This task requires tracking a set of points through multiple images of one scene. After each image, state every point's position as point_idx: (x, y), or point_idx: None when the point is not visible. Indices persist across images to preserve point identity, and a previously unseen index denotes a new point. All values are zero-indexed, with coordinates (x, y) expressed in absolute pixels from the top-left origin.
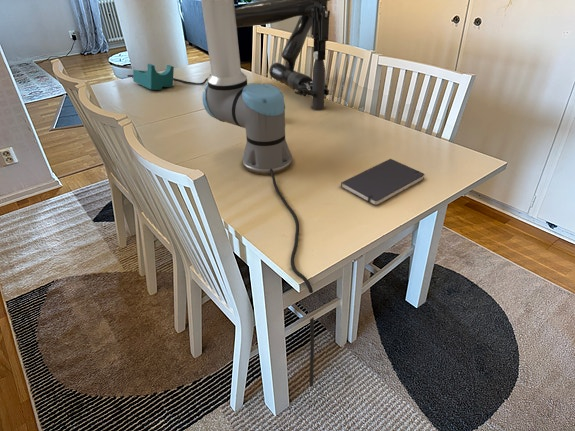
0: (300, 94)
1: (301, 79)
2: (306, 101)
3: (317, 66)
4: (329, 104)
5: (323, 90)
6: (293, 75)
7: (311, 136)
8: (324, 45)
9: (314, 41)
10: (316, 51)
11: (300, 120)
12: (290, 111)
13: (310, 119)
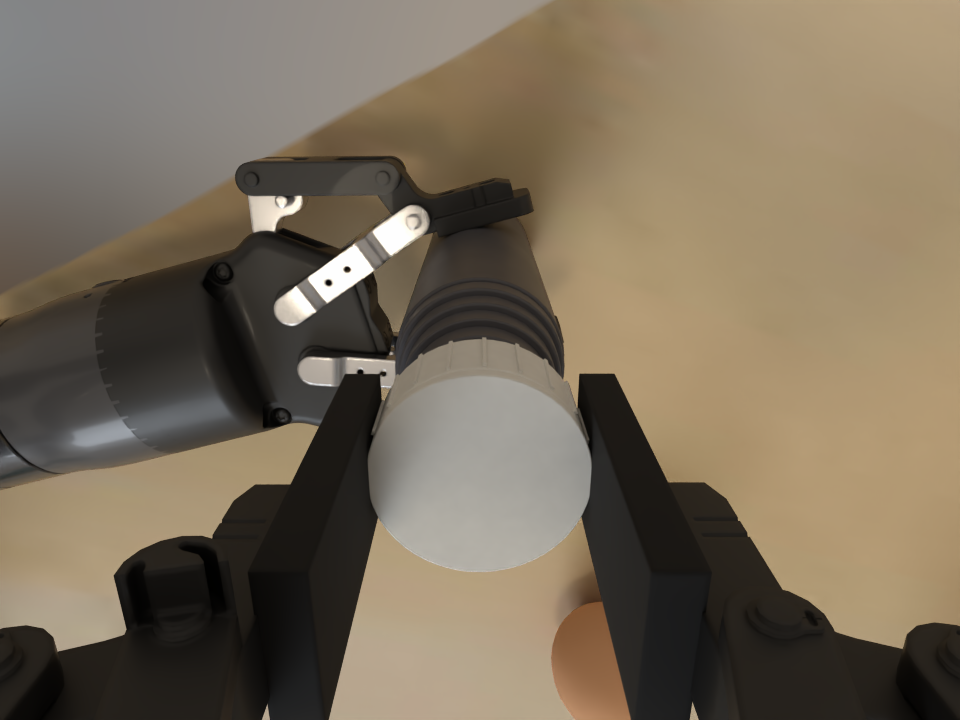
0: None
1: (250, 412)
2: None
3: None
4: (433, 128)
5: (532, 256)
6: (110, 455)
7: (934, 447)
8: (760, 570)
9: (337, 675)
10: (389, 503)
11: (664, 440)
12: None
13: (677, 374)
